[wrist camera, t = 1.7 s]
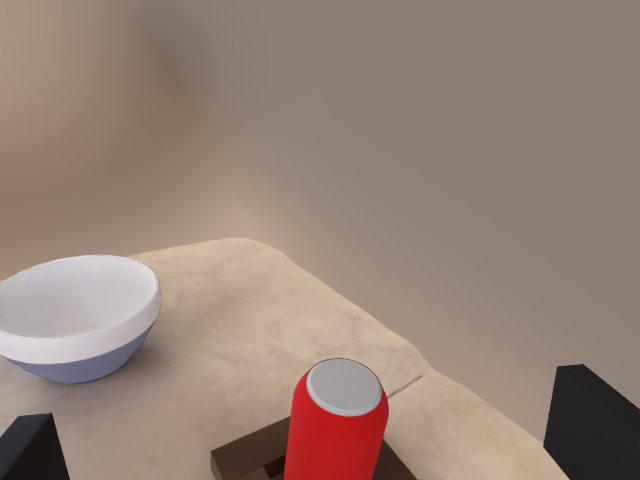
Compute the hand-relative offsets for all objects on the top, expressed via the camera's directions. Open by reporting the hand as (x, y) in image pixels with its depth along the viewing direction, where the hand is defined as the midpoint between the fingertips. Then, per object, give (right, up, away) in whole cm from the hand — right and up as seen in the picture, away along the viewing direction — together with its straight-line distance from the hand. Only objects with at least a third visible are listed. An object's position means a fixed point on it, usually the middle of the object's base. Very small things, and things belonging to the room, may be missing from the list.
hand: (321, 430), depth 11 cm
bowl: (-24, -7, +30) cm, 39 cm away
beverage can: (0, -15, +20) cm, 25 cm away
